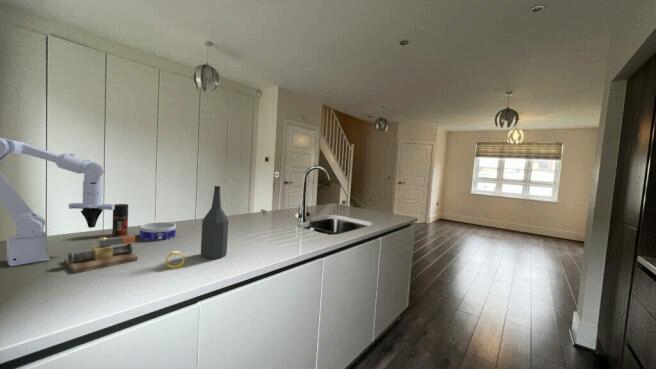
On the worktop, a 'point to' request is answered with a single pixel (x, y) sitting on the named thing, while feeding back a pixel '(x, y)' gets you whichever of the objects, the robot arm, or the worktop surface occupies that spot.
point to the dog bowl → (157, 231)
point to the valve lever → (115, 240)
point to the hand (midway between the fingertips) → (91, 227)
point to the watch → (174, 254)
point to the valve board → (101, 262)
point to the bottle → (214, 230)
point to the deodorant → (120, 220)
